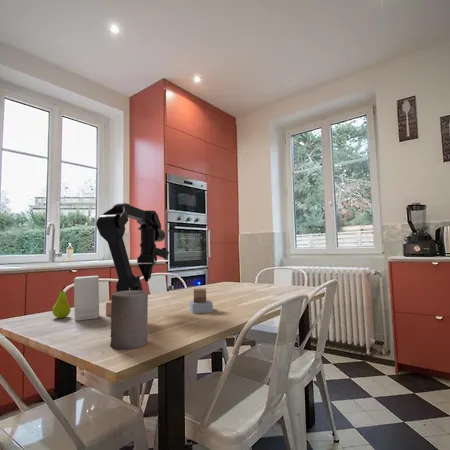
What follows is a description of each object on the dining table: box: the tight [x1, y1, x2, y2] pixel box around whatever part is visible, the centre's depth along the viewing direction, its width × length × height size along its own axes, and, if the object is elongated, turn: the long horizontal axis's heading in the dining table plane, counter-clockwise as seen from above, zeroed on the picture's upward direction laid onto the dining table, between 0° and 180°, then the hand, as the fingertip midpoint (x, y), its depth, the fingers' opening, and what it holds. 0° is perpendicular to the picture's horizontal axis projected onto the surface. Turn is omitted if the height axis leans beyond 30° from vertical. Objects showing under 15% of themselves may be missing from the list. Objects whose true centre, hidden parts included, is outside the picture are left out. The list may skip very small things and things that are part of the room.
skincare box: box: [73, 275, 100, 322], centre depth 116 cm, size 8×7×16 cm
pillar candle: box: [109, 288, 149, 350], centre depth 83 cm, size 10×10×15 cm
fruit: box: [51, 285, 72, 319], centre depth 117 cm, size 6×6×12 cm
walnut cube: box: [193, 287, 207, 303], centre depth 125 cm, size 5×5×5 cm
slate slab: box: [189, 299, 214, 314], centre depth 125 cm, size 8×8×4 cm
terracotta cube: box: [104, 300, 111, 317], centre depth 122 cm, size 5×5×5 cm
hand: (147, 280), depth 123 cm, fingers open, 9 cm apart
